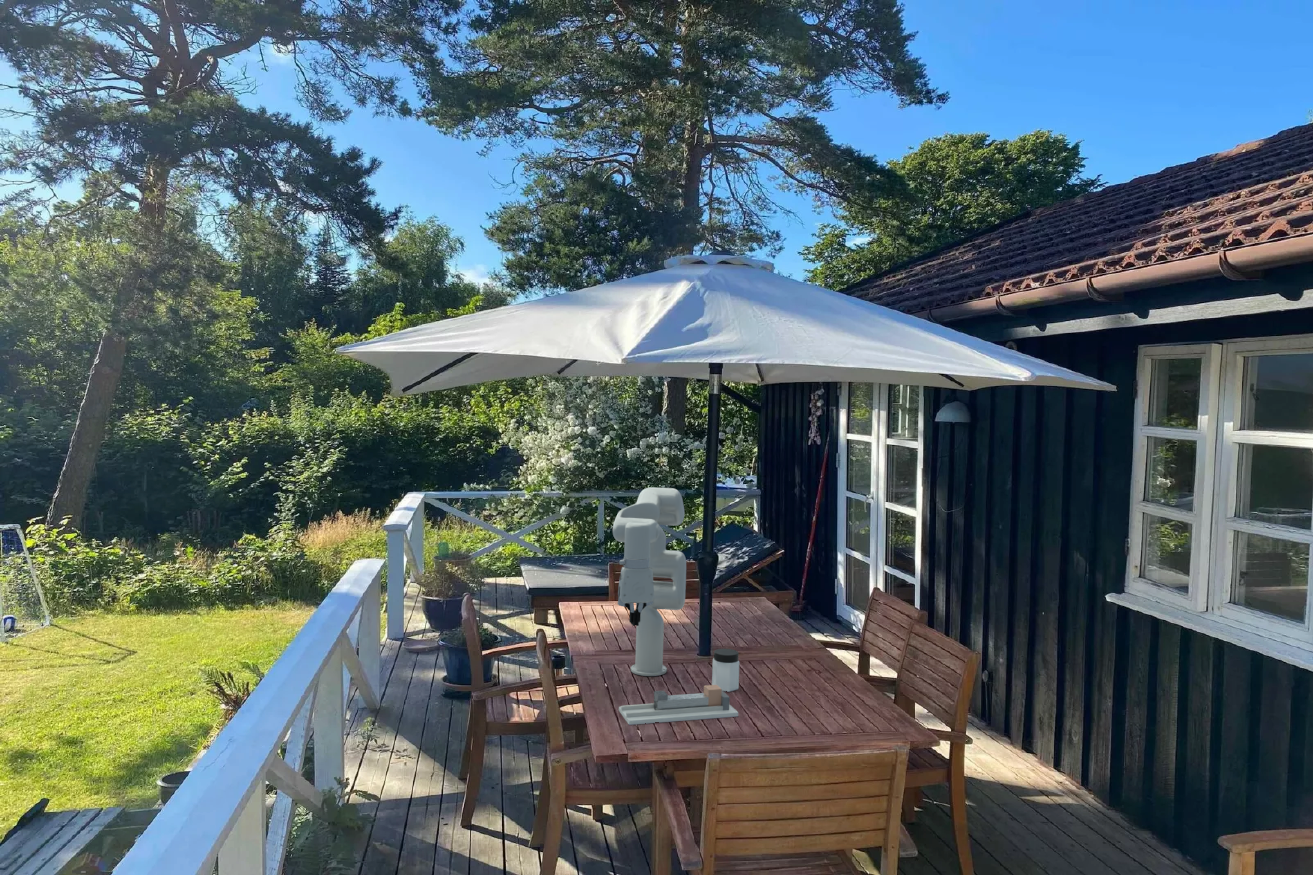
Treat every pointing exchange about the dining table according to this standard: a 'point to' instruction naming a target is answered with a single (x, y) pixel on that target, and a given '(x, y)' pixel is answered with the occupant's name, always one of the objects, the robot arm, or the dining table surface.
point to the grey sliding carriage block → (679, 701)
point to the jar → (726, 669)
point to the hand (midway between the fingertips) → (634, 624)
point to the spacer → (713, 694)
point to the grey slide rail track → (676, 712)
